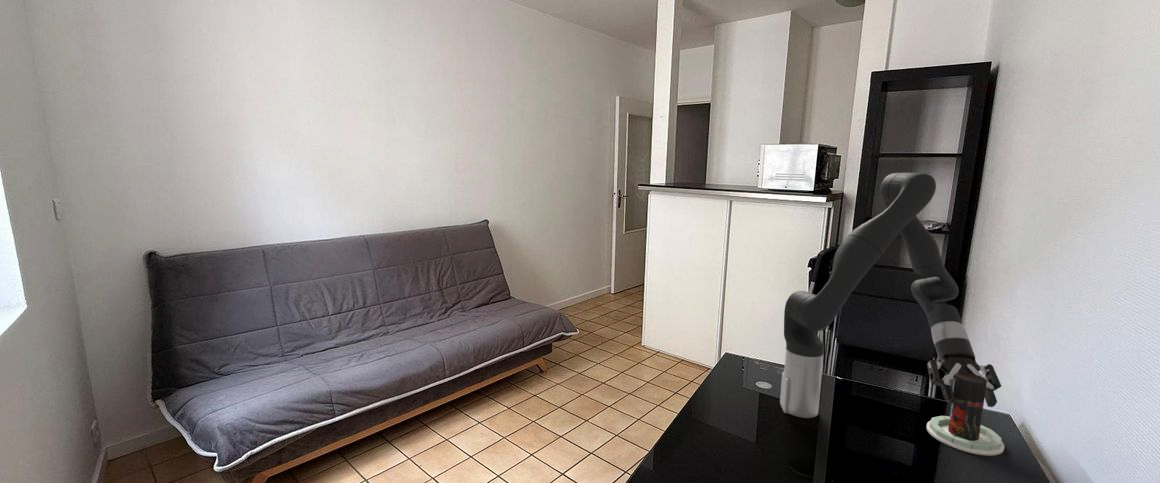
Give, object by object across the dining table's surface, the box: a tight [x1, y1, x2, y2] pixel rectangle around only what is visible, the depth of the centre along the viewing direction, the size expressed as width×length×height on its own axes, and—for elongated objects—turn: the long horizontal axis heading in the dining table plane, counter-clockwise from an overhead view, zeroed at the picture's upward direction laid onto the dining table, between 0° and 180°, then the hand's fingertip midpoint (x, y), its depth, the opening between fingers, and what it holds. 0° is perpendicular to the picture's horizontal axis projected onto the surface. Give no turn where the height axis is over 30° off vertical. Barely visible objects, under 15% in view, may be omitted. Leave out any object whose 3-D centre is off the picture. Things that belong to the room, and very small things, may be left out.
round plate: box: [926, 415, 1005, 457], centre depth 116 cm, size 15×15×2 cm
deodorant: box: [948, 372, 987, 441], centre depth 115 cm, size 6×6×15 cm
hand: (971, 403), depth 113 cm, fingers open, 8 cm apart
